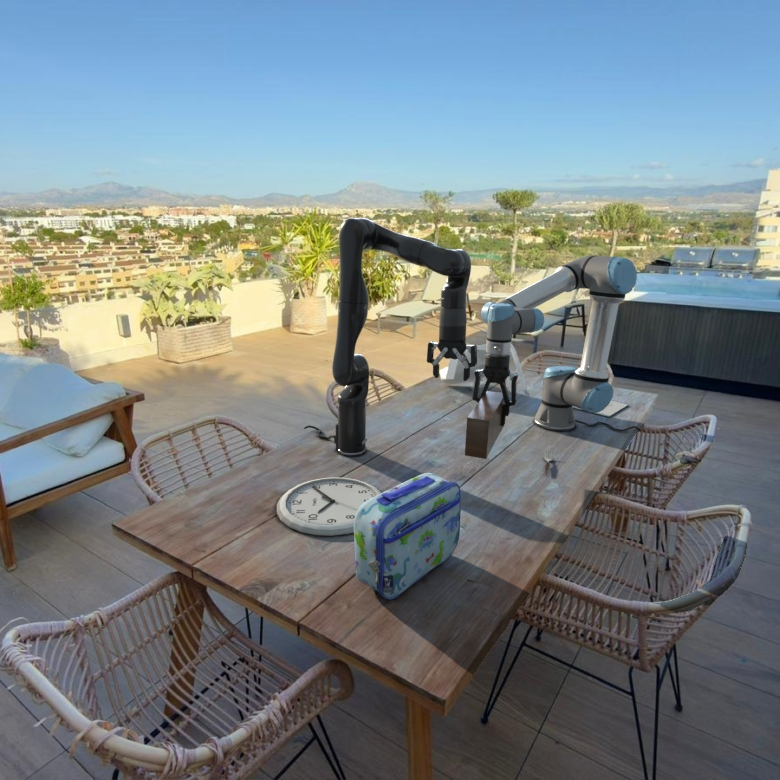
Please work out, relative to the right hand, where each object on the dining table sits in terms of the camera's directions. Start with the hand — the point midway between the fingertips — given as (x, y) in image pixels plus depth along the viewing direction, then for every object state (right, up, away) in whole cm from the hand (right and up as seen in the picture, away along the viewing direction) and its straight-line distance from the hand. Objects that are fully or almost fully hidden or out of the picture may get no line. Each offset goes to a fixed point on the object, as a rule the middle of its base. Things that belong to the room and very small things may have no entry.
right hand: (492, 422), depth 170 cm
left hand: (-16, +14, -19) cm, 28 cm away
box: (-4, -5, -8) cm, 10 cm away
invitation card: (+58, +3, +56) cm, 81 cm away
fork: (+18, -14, -1) cm, 22 cm away
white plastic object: (+8, +10, +73) cm, 74 cm away
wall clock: (-49, -21, -27) cm, 60 cm away
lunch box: (-29, -30, -54) cm, 68 cm away
